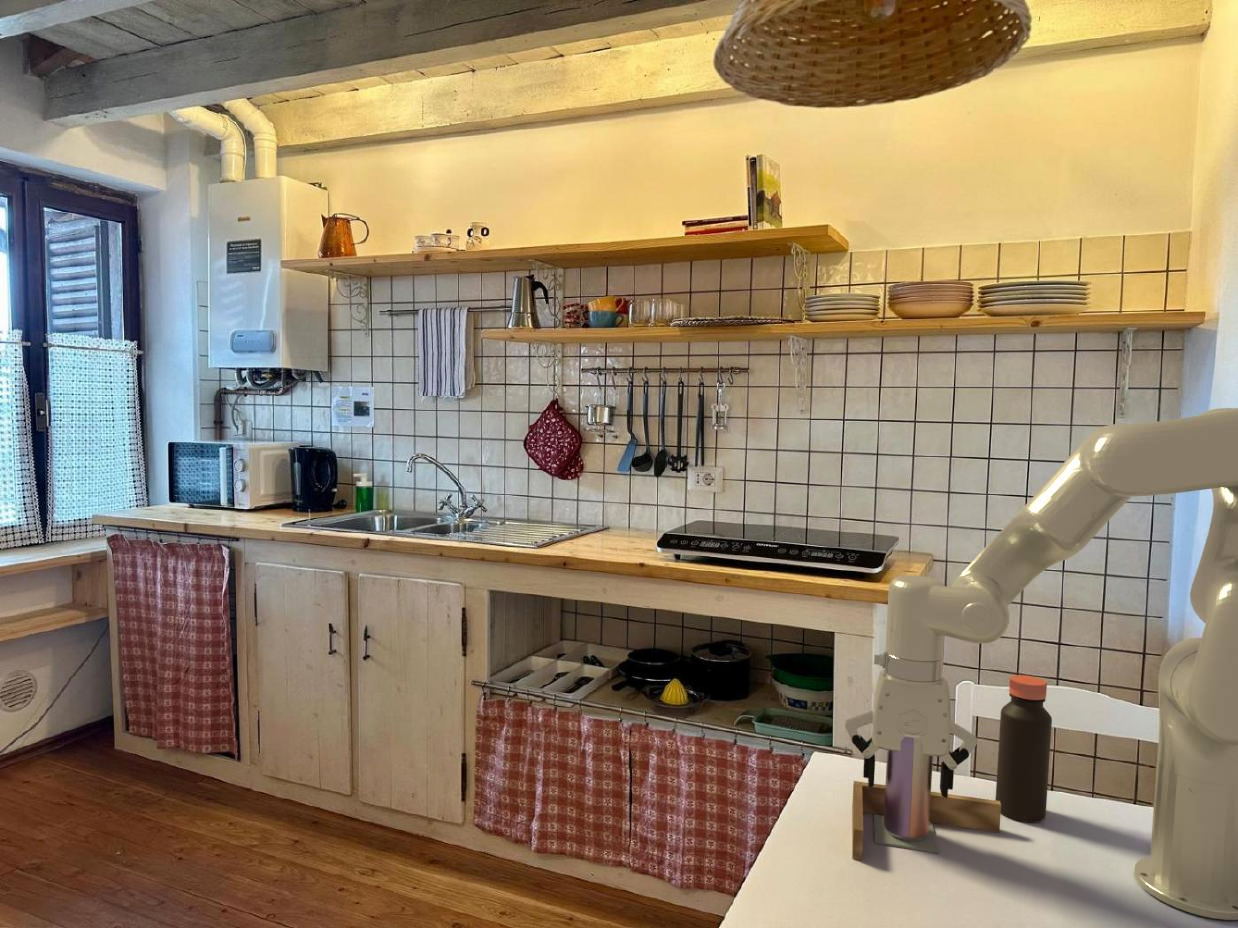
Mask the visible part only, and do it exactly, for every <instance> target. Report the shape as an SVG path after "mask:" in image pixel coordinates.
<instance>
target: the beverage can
mask: <svg viewBox="0 0 1238 928" xmlns="http://www.w3.org/2000/svg"><path fill="white" fill-rule="evenodd" d="M903 735H905V736H906V737H905V738H904V739H903V740H902V741H901V748H900V751H889V750H886V767H885V768H886V769H885V784H884V785H885V806H884V815H883V816H884V826H885V828H886V830H887V832H888V833H889V834H890V835H892V836H893V837H895V838H898V839H901V840H905V841H920V840H922V839H924V838H925V837H926V836H927V834H928V833H929V823H930V822H929V820H930V801H931V792H932V783H933V782H932V781H933V779H932V778H933V765H934V764H933V761H934V760H933V759H934V756H927V755H925V754H923V743H922V741H921V740H920V739H919V737H920V736H922V735H912V734H904V733H903Z"/></svg>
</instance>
